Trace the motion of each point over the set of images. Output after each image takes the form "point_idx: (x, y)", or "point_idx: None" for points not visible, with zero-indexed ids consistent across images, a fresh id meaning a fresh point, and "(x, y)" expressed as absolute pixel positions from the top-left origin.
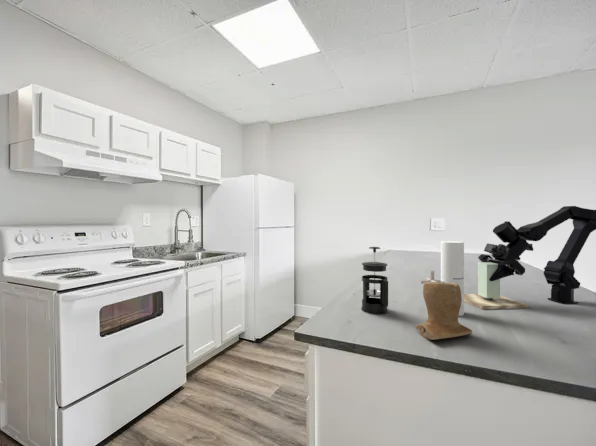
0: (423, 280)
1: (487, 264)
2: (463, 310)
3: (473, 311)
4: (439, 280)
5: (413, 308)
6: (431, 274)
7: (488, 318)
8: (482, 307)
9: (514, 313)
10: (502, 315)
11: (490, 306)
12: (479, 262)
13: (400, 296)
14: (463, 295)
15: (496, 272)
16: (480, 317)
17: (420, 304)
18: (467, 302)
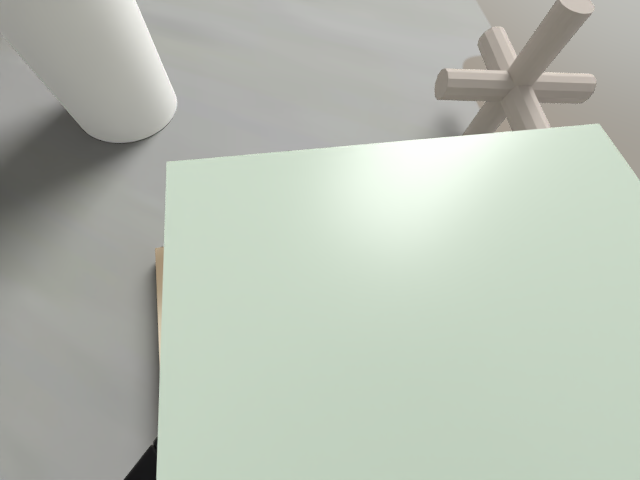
0: (493, 40)
1: (169, 186)
2: (77, 119)
3: (134, 197)
4: (528, 112)
5: (194, 13)
6: (537, 29)
7: (12, 214)
8: (157, 252)
9: (61, 426)
10: (40, 316)
11: (158, 303)
12: (602, 155)
13: (364, 19)
14: (9, 41)
15: (146, 455)
16: (36, 186)
17: (250, 45)
18: None
